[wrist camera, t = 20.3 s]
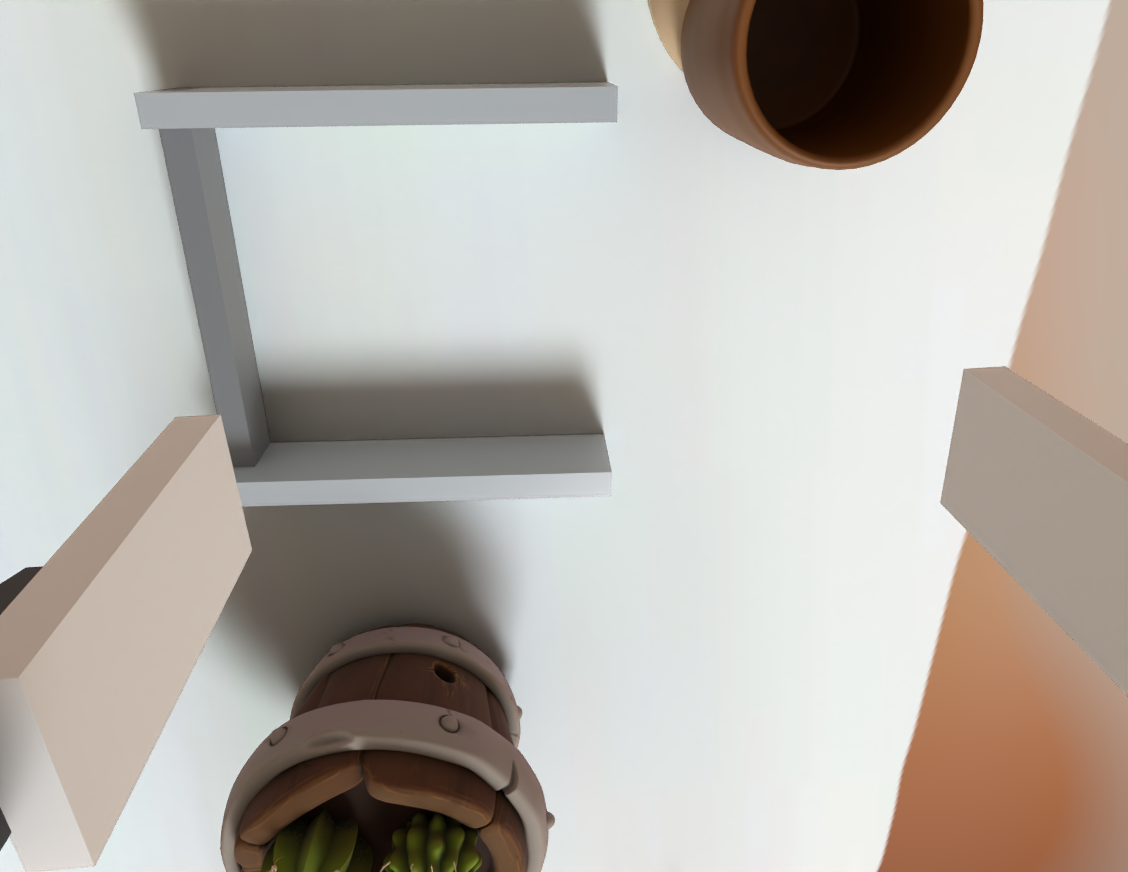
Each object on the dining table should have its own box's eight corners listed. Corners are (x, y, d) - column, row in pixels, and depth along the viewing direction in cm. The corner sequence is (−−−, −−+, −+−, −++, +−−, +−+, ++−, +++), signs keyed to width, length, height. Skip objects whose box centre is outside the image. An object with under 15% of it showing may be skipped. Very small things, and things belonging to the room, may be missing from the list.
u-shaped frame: (249, 465, 40) (222, 507, 37) (176, 88, 33) (133, 93, 30) (603, 456, 41) (611, 496, 37) (608, 82, 34) (617, 86, 30)
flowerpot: (259, 583, 43) (67, 970, 25) (554, 587, 44) (573, 964, 26) (286, 787, 49) (147, 1215, 31) (544, 787, 50) (554, 1204, 32)
